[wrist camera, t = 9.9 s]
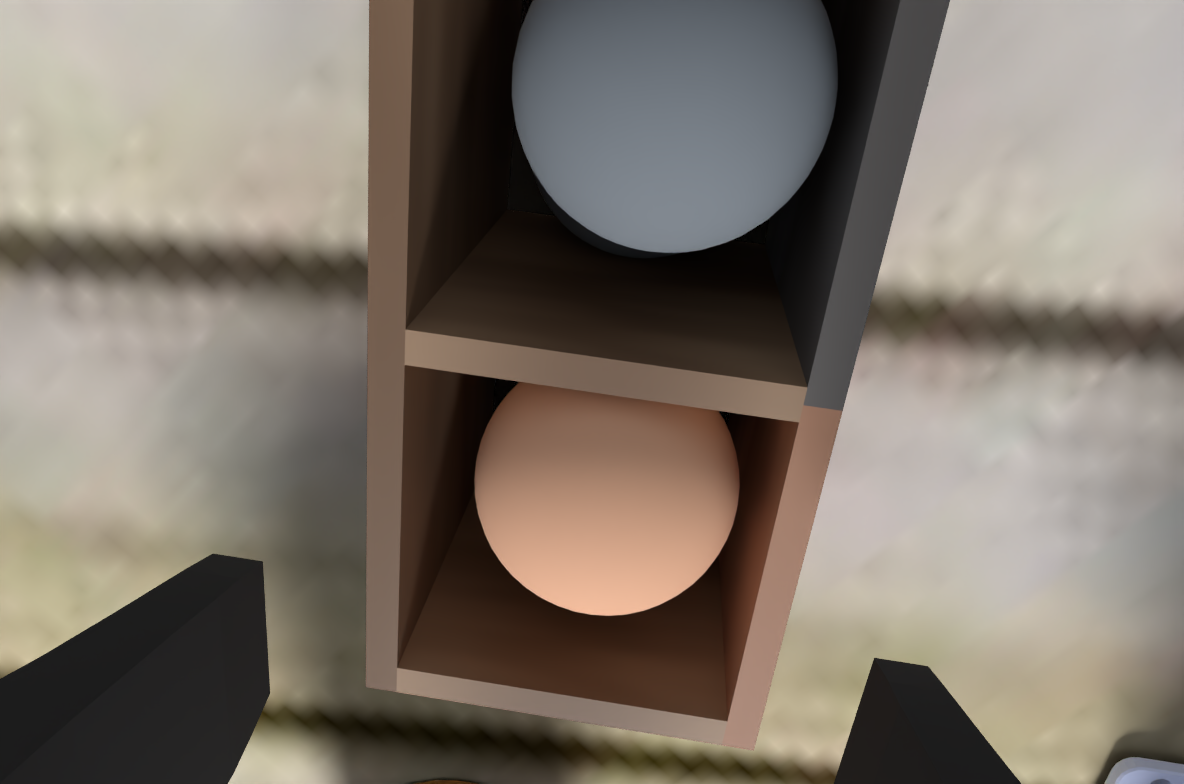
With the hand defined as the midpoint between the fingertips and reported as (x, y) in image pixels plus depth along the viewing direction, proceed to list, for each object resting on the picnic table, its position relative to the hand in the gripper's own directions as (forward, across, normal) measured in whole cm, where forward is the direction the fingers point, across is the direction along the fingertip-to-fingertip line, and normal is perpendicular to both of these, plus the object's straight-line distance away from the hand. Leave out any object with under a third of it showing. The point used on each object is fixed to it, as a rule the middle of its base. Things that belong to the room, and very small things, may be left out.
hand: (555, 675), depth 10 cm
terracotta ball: (+5, 0, +1) cm, 5 cm away
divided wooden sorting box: (+9, 0, -3) cm, 10 cm away
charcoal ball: (+5, 0, -5) cm, 7 cm away
